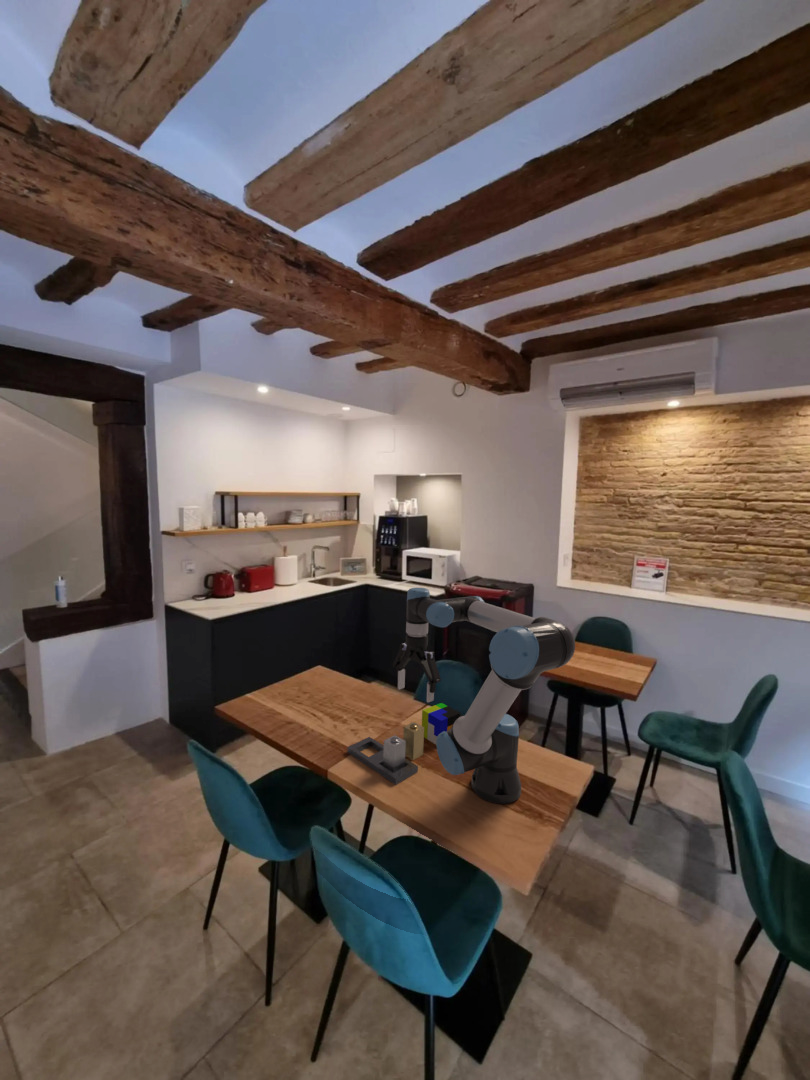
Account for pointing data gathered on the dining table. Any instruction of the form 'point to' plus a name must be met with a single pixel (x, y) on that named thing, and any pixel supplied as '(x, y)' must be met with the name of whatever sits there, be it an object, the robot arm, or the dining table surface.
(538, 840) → the dining table surface
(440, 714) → the puzzle toy
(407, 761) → the grey flat plate
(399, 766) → the silver block with knob
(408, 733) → the tan block with knob
